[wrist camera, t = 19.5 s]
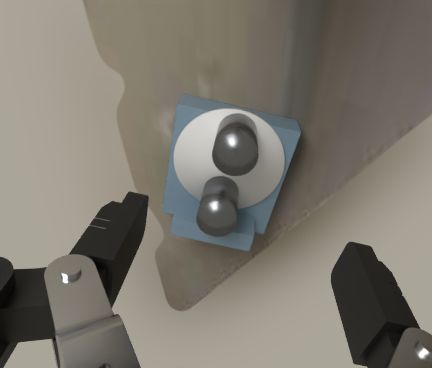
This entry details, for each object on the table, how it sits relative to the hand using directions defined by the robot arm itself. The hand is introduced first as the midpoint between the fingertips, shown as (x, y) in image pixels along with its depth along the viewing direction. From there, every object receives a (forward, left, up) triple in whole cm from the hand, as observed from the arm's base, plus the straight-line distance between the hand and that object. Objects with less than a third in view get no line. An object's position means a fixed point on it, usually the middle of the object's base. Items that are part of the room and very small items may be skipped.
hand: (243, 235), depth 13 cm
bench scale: (+11, 0, -28) cm, 30 cm away
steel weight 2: (+13, 0, -24) cm, 27 cm away
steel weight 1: (+5, 0, -24) cm, 24 cm away
